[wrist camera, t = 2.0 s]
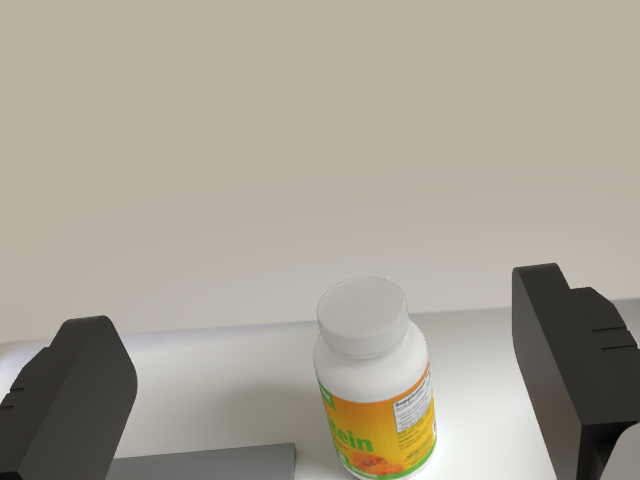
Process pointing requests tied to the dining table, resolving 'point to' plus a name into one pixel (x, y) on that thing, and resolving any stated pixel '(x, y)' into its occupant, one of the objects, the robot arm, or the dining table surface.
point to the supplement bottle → (375, 380)
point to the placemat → (210, 465)
